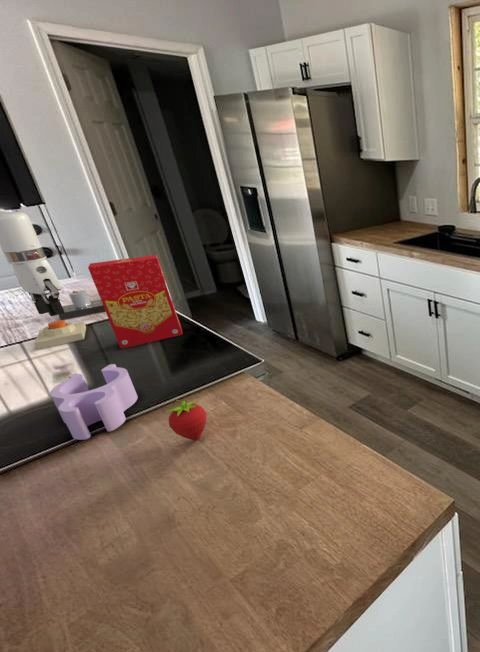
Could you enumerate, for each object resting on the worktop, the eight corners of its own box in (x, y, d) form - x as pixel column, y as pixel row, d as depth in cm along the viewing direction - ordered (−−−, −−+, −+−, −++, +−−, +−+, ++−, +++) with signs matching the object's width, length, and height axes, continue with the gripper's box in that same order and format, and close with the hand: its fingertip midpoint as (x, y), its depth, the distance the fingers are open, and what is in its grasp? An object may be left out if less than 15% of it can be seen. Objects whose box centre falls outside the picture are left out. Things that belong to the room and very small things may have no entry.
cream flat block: (84, 339, 127) (79, 327, 126) (37, 349, 121) (31, 337, 120) (86, 327, 136) (81, 316, 134) (42, 336, 130) (37, 324, 128)
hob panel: (60, 320, 142) (57, 313, 141) (63, 312, 148) (60, 306, 147) (107, 311, 149) (105, 304, 148) (108, 304, 155) (105, 298, 154)
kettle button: (66, 327, 127) (63, 322, 126) (49, 330, 125) (47, 325, 124) (67, 324, 130) (64, 319, 129) (50, 327, 127) (48, 322, 127)
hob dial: (94, 304, 149) (88, 290, 147) (79, 308, 145) (72, 294, 143) (86, 302, 150) (81, 289, 148) (71, 307, 146) (65, 293, 144)
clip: (138, 422, 89) (126, 395, 86) (56, 448, 81) (41, 420, 79) (137, 384, 103) (127, 360, 100) (67, 404, 95) (54, 378, 93)
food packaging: (120, 348, 121) (87, 267, 112) (121, 342, 125) (90, 263, 116) (182, 334, 130) (157, 258, 121) (181, 329, 134) (156, 254, 125)
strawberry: (180, 456, 79) (164, 413, 75) (174, 438, 84) (158, 397, 80) (217, 442, 83) (202, 400, 79) (209, 425, 88) (195, 385, 84)
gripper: (60, 254, 120) (85, 312, 126) (25, 250, 125) (51, 306, 131) (25, 261, 113) (53, 321, 120) (-10, 256, 118) (18, 315, 125)
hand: (51, 313), depth 125 cm, fingers open, 4 cm apart
